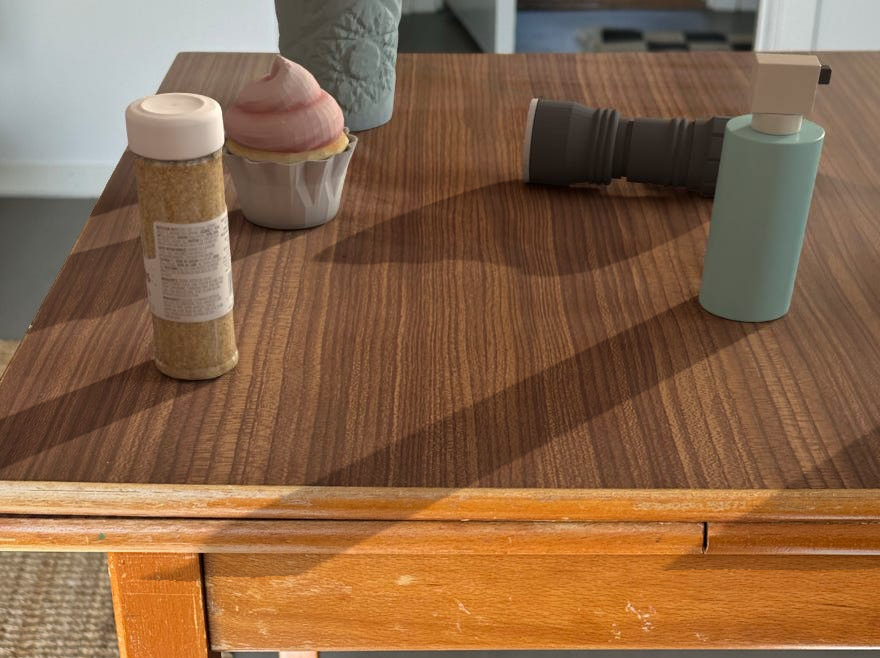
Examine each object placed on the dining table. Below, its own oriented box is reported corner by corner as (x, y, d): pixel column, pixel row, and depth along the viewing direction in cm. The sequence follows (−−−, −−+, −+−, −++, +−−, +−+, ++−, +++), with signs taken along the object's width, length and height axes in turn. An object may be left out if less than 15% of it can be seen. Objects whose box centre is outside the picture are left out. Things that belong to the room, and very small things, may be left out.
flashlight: (747, 184, 93) (761, 104, 90) (747, 212, 89) (762, 129, 85) (530, 166, 95) (535, 88, 92) (520, 192, 91) (525, 111, 88)
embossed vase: (301, 91, 109) (296, -71, 102) (419, 102, 107) (422, -62, 100) (258, 129, 102) (249, -44, 94) (385, 141, 100) (385, -34, 92)
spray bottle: (695, 282, 79) (783, 287, 79) (701, 319, 75) (793, 325, 75) (733, 43, 71) (831, 47, 71) (741, 70, 67) (845, 75, 67)
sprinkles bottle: (163, 344, 72) (134, 88, 64) (246, 346, 72) (228, 90, 64) (147, 383, 69) (114, 117, 60) (234, 385, 69) (213, 119, 60)
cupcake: (219, 191, 91) (206, 36, 85) (354, 187, 92) (351, 33, 86) (217, 243, 84) (204, 77, 77) (364, 238, 84) (362, 74, 78)
